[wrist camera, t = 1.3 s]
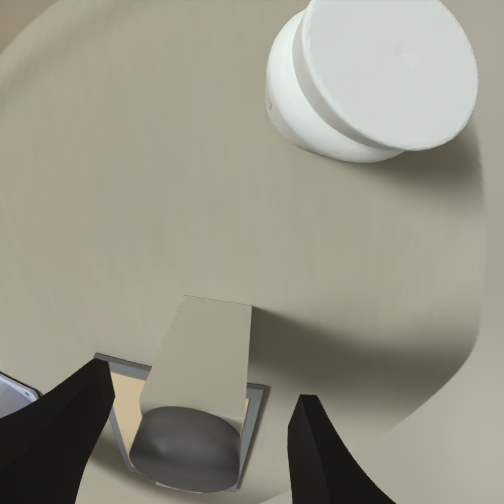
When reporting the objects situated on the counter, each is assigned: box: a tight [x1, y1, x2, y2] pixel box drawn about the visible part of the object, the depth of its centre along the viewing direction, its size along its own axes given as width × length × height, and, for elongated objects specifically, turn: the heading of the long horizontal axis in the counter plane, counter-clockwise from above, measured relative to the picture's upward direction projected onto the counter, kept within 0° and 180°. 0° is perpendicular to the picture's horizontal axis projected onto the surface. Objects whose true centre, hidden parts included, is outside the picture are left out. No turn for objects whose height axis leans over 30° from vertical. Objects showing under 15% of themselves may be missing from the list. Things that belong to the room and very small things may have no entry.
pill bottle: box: [265, 0, 479, 163], centre depth 7 cm, size 4×4×8 cm
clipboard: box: [93, 353, 264, 494], centre depth 18 cm, size 10×15×1 cm, turn 172°
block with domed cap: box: [129, 295, 252, 492], centre depth 11 cm, size 3×3×8 cm
